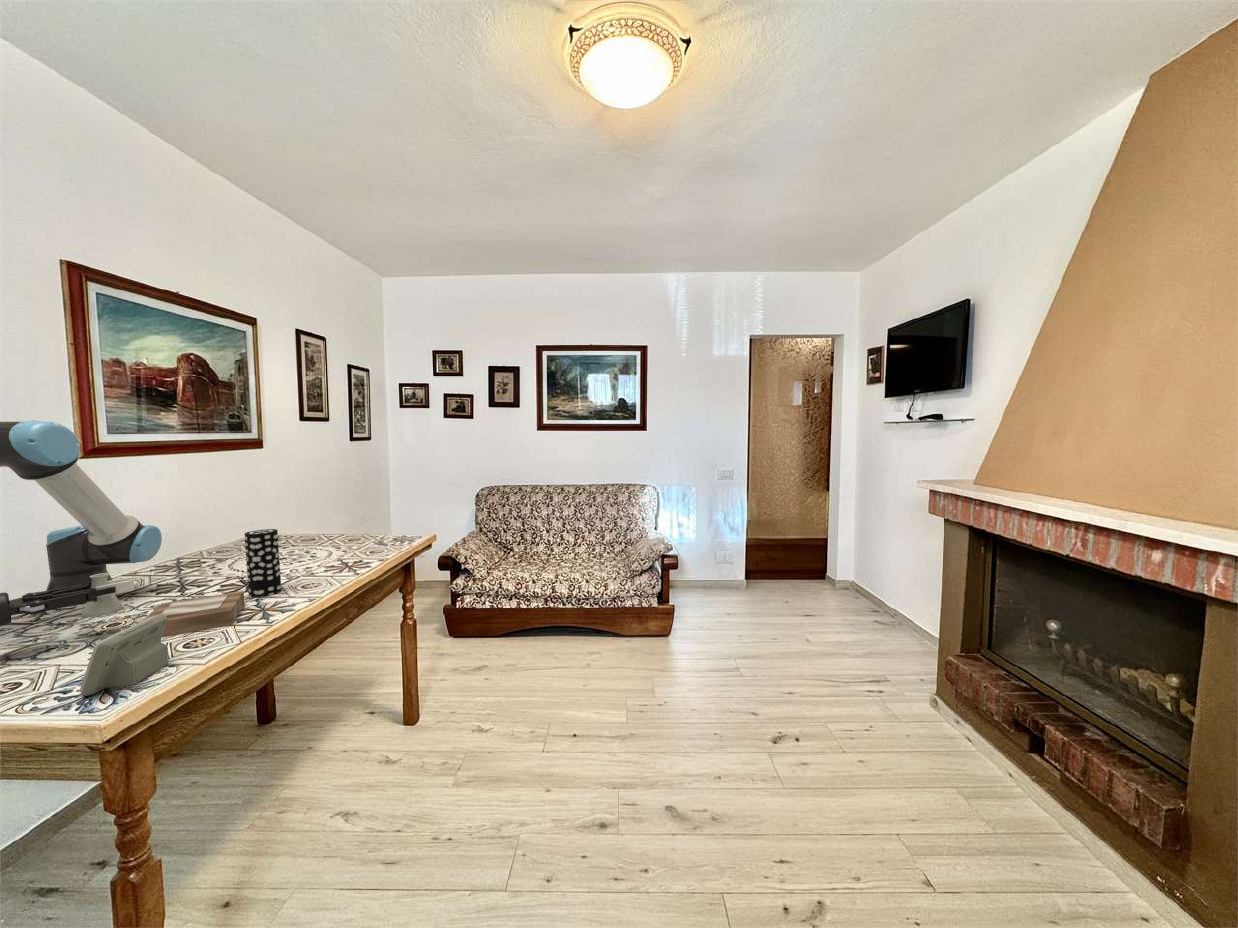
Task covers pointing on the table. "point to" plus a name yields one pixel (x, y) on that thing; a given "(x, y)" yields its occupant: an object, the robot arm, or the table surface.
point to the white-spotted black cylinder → (263, 562)
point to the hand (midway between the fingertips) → (131, 583)
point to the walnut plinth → (200, 613)
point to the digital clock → (127, 656)
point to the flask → (101, 600)
